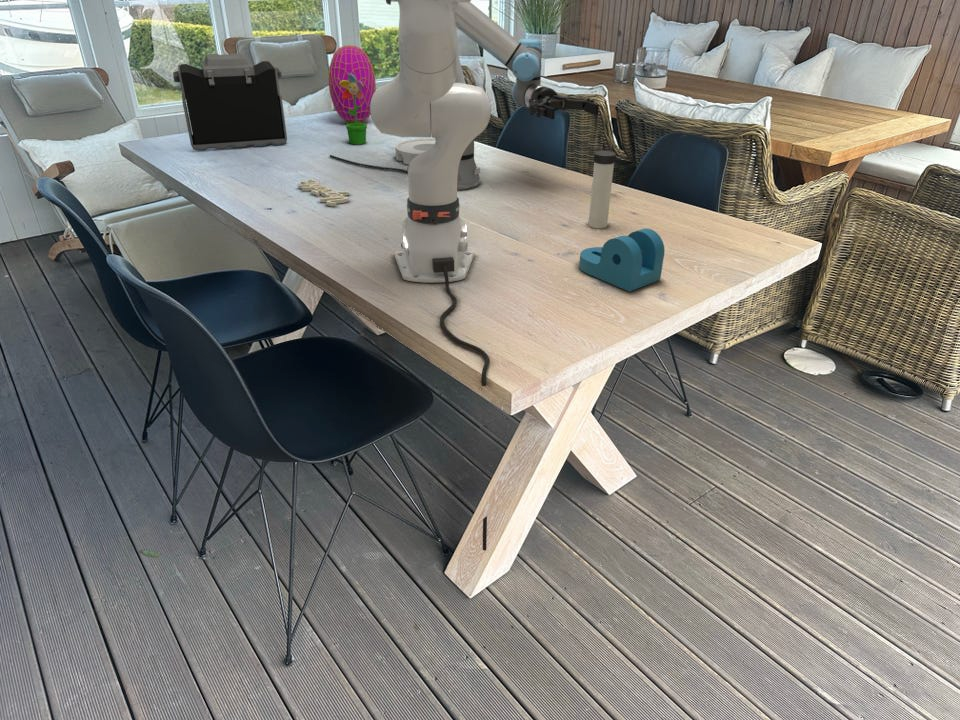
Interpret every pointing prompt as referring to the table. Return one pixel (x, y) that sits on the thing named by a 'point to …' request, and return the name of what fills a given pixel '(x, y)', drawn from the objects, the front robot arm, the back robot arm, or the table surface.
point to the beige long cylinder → (600, 195)
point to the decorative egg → (340, 66)
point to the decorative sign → (324, 192)
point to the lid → (604, 157)
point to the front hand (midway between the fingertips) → (430, 23)
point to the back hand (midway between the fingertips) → (575, 112)
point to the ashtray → (412, 149)
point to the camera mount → (626, 260)
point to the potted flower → (354, 129)
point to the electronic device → (232, 102)
